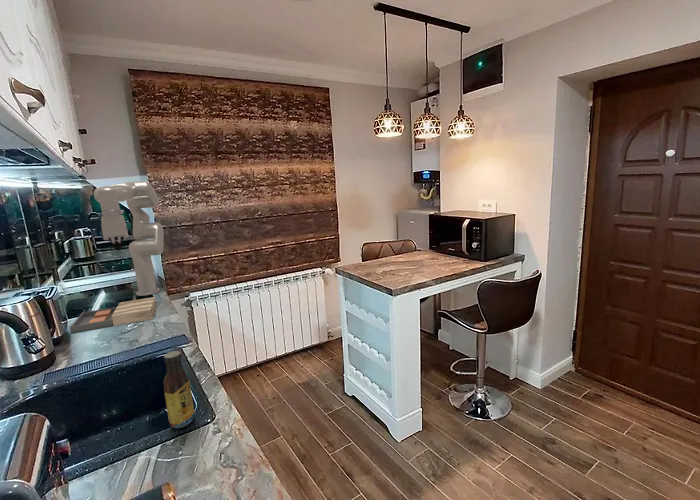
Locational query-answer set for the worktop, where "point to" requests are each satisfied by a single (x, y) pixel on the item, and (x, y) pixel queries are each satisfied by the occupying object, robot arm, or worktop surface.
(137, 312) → the bench plate
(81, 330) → the box
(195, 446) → the worktop surface
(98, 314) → the tile
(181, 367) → the sauce bottle
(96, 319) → the tile
